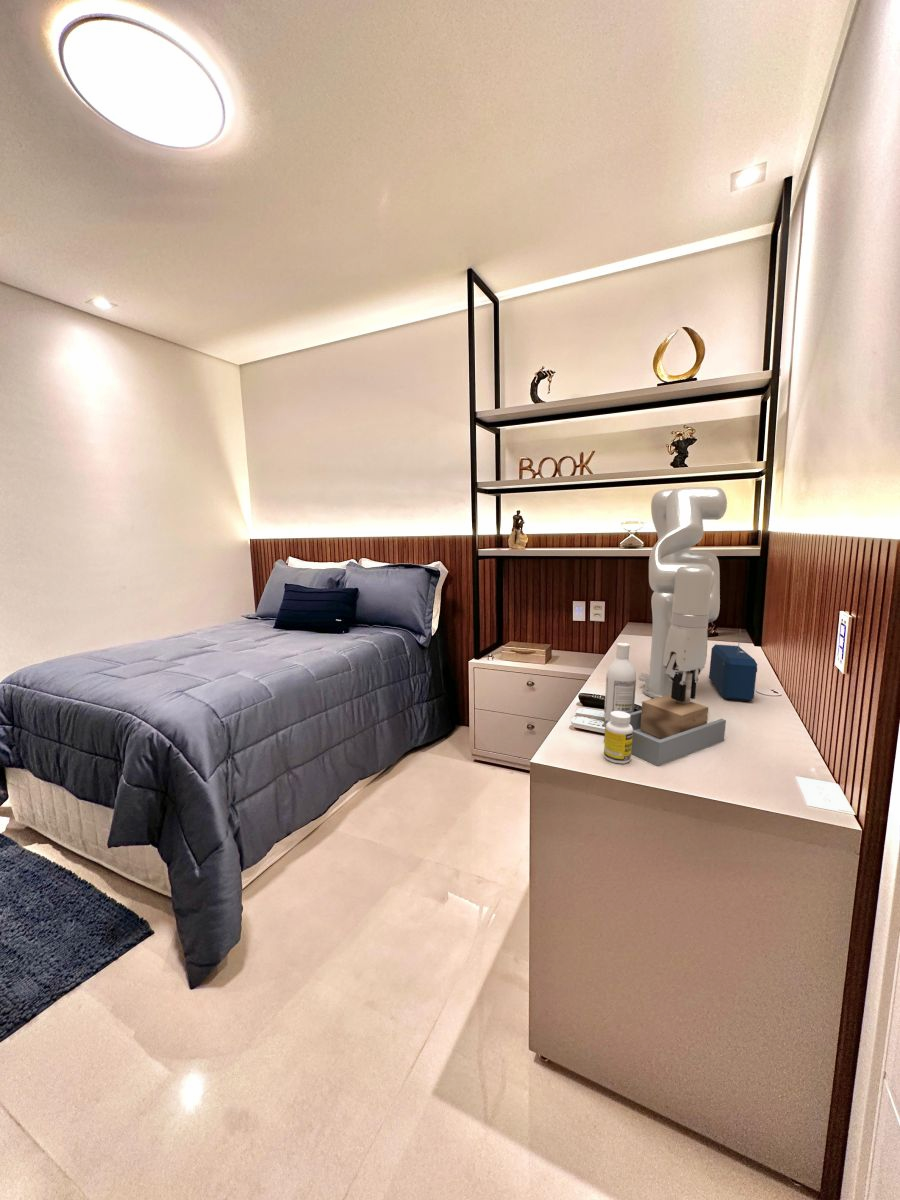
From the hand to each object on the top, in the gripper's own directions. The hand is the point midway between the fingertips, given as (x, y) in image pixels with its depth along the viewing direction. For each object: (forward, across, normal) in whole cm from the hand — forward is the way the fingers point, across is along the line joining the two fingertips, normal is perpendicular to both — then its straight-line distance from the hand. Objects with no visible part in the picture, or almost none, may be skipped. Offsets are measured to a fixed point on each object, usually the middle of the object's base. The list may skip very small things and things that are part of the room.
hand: (683, 697), depth 117 cm
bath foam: (+9, +6, -13) cm, 17 cm away
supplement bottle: (+9, +22, 0) cm, 24 cm away
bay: (+9, +6, 0) cm, 11 cm away
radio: (+10, -43, -12) cm, 46 cm away
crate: (+8, +3, 0) cm, 9 cm away
